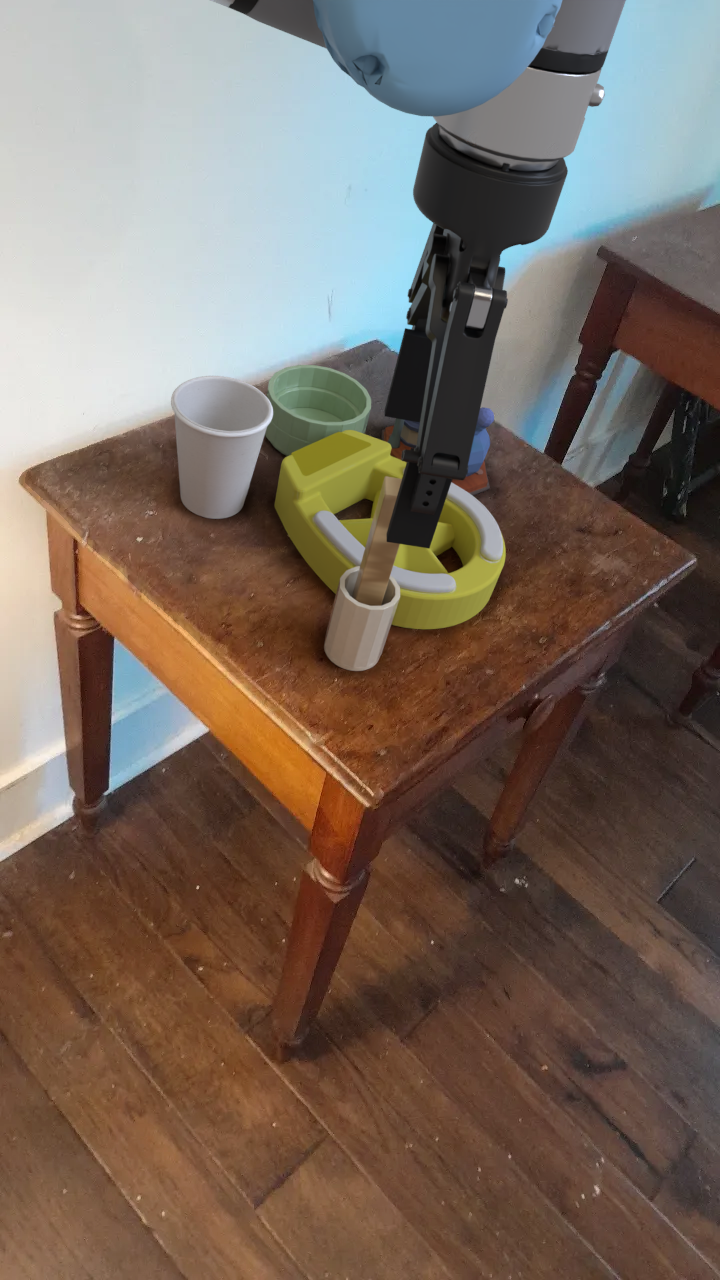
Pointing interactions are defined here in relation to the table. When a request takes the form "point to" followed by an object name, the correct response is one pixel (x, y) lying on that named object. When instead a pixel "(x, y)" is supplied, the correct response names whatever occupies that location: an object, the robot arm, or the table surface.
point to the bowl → (314, 406)
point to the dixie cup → (218, 442)
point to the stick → (378, 549)
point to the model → (476, 478)
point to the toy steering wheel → (331, 546)
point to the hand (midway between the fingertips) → (405, 474)
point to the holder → (359, 625)
